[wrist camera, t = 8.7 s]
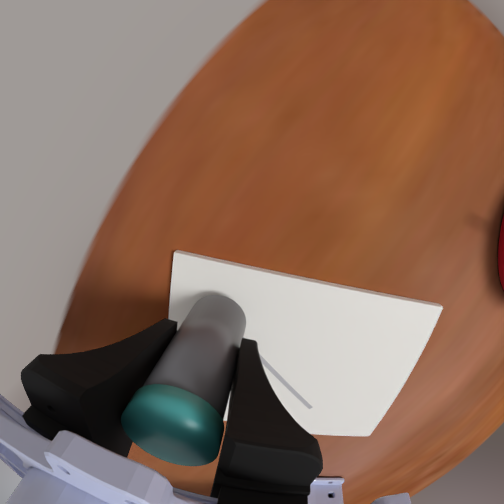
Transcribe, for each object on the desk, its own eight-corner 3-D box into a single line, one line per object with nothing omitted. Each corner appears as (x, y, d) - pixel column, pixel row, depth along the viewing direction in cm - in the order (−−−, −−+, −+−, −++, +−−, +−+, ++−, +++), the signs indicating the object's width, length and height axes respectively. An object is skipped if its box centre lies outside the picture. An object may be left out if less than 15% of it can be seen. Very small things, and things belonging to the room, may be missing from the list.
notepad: (439, 303, 14) (443, 307, 14) (367, 431, 18) (369, 436, 17) (177, 249, 15) (173, 252, 15) (168, 400, 18) (165, 404, 18)
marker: (253, 300, 14) (224, 426, 6) (242, 350, 15) (213, 474, 7) (192, 286, 14) (115, 391, 7) (186, 337, 15) (126, 446, 7)
